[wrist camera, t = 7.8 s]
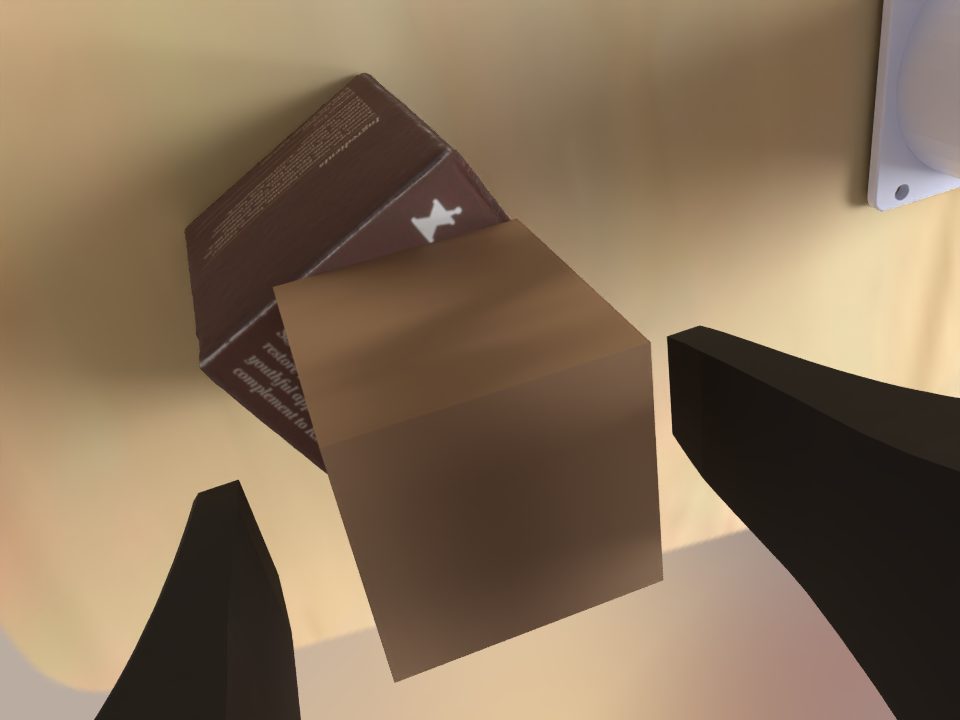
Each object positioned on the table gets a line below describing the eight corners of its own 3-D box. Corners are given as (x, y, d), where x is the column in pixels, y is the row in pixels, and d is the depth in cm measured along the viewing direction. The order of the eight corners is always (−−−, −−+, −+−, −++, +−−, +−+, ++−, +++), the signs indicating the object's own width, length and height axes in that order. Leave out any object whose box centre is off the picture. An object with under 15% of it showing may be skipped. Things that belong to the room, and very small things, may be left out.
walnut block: (516, 218, 15) (650, 342, 11) (545, 417, 18) (662, 579, 14) (272, 287, 14) (319, 448, 10) (336, 486, 17) (394, 682, 13)
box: (176, 224, 21) (185, 365, 15) (364, 62, 20) (453, 138, 14) (338, 375, 24) (399, 541, 18) (502, 239, 24) (620, 361, 18)
